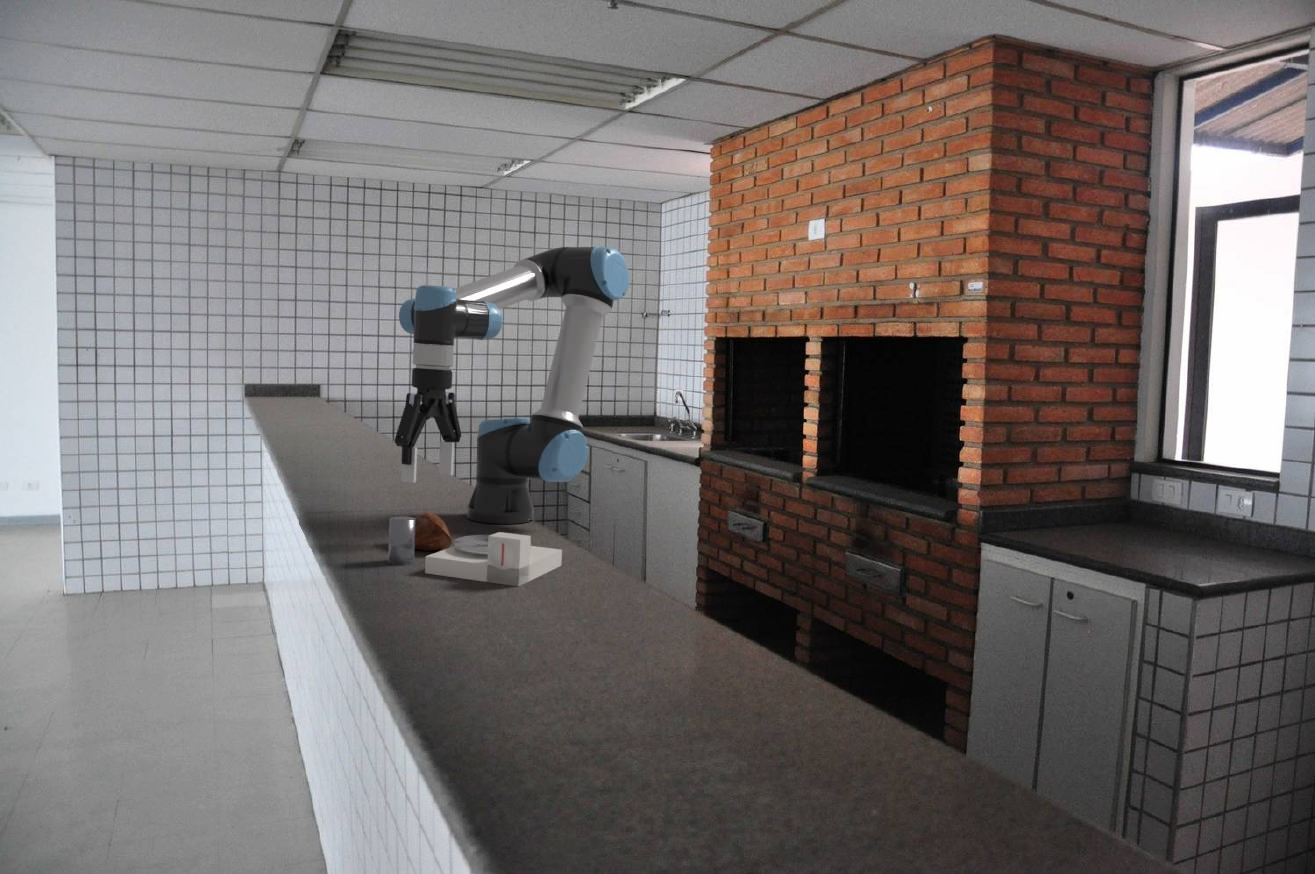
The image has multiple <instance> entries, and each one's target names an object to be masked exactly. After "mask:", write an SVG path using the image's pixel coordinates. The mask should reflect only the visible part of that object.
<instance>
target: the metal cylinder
mask: <svg viewBox="0 0 1315 874" xmlns="http://www.w3.org/2000/svg"><path fill="white" fill-rule="evenodd" d="M388 525H389V527H388V552H387V553H388V558H387V563H388V564H389V565H392V566H393V565H394V566H407V565H413V564H415V553H416V551H415V550H416V548H415V526H416V519H415V518H413V517H405V516H392V517H389V524H388Z"/></svg>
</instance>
